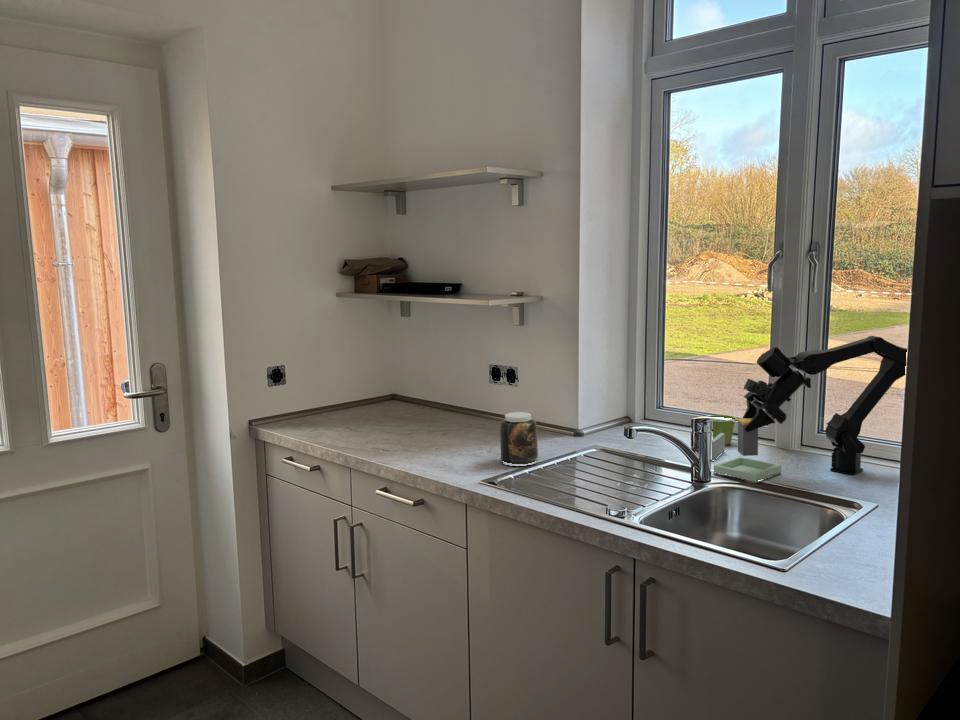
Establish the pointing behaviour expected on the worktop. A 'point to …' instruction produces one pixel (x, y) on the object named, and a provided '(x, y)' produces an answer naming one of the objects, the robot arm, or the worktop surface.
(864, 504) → the worktop surface
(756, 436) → the grey yellow-capped canister
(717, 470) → the tray
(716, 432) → the plant pot
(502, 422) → the jar
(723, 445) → the panel
